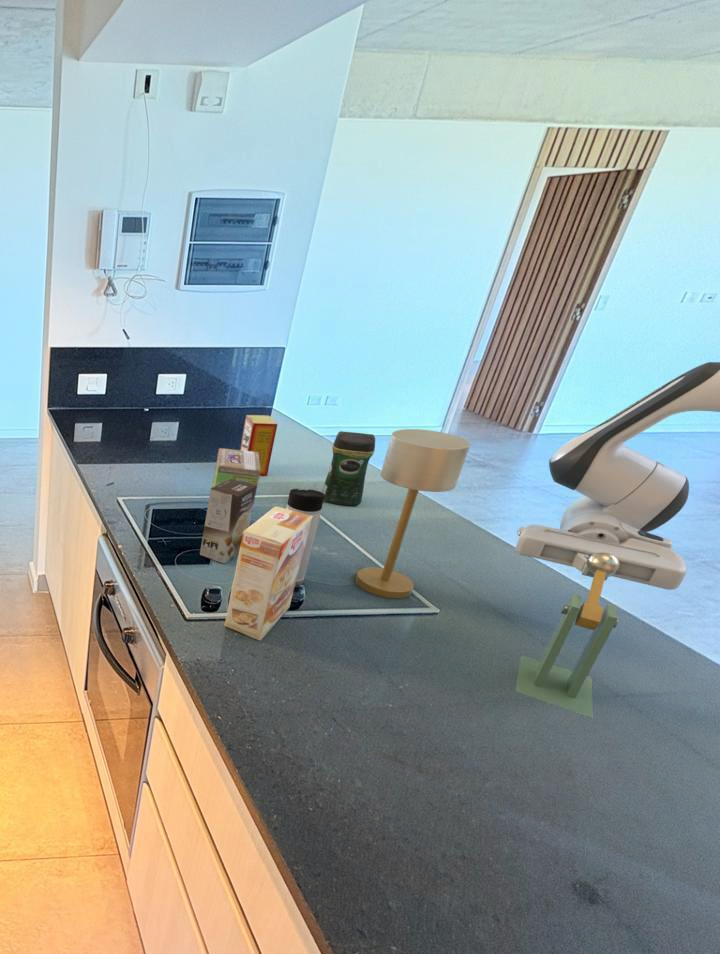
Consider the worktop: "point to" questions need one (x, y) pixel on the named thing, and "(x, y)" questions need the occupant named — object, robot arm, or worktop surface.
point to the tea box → (237, 466)
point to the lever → (596, 589)
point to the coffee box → (227, 519)
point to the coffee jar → (348, 468)
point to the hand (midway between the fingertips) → (596, 573)
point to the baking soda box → (259, 438)
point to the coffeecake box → (267, 571)
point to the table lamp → (413, 493)
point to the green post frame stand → (560, 682)
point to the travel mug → (312, 506)
